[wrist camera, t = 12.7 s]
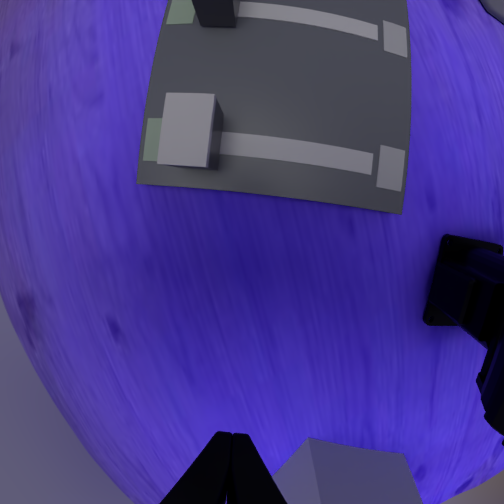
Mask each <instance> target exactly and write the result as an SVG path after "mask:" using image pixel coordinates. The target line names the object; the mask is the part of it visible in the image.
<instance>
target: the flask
mask: <svg viewBox="0 0 504 504" xmlns="http://www.w3.org/2000/svg"><path fill="white" fill-rule="evenodd" d="M480 1H481V2H482V4H483V6H484V7H485V9H486V10H487V12H489V13H490V14H491V15H493V16H494V17H496V18H497V19H498V20H500V21H501V22H502V23H503V24H504V0H480Z"/></svg>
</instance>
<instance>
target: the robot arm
mask: <svg viewBox="0 0 504 504" xmlns="http://www.w3.org/2000/svg"><path fill="white" fill-rule="evenodd" d="M448 240H450V242H449V244H448V245H447V242H448ZM497 251H498V253H497ZM429 317H431V319H430V320H428V319H429ZM423 321H424V323H426V324H427V325H429V326H459V327H461V328H462V329H463V330H464V331H466V332H467V333H468V334H469V335H471V336H472V337H473V338H474V339H475V340H477V341H478V342H479V343H480V344H481V345H483V346H484V347H485V348H486V349H487V350H488V351H487V354H486V357H485V360H484V363H483V366H482V369H481V371H480V372H479V373H478V376H477V379H476V383H477V385H478V388H479V390H480V393H481V401H482V404H483V407H484V410H485V411H486V412H485V414H484V418H485V420H486V421H487V422H488V423H489V424H490V426H491V427H492V428H493V429H495V430H496V431H497V432H498V433H500V434H501V435H503V436H504V256H503V247H502V246H501V245H499V244H495V243H490V242H485V241H480V240H475V239H470V238H465V237H460V236H455V235H449V234H446V235H445V236H444V237H443V238H442V241H441V246H440V251H439V256H438V261H437V265H436V268H435V273H434V277H433V281H432V285H431V289H430V293H429V297H428V302H427V306H426V309H425V313H424V316H423ZM502 445H503V446H504V440H503V441H502ZM226 496H227V504H287V502H286V500H285V499H284V497H283V495H282V494H281V492H280V490H279V488H278V487H277V485H276V483H275V482H274V480H273V478H272V476H271V475H270V473H269V471H268V469H267V467H266V466H265V464H264V462H263V460H262V458H261V457H260V455H259V453H258V451H257V449H256V447H255V446H254V444H253V442H252V440H251V438H250V436H249V435H248V434H243V433H234V434H233V436H232V433H230V432H222V431H218V432H216V433H215V434H214V436H213V437H212V438H211V440H210V441H209V442H208V444H207V445H206V446H205V448H204V449H203V450H202V452H201V453H200V454H199V455H198V457H197V458H196V459H195V461H194V462H193V463H192V464H191V466H190V467H189V468H188V469H187V471H186V472H185V473H184V474H183V476H182V477H181V478H180V479H179V481H178V482H177V483H176V484H175V486H174V487H173V488H172V489H171V490H170V492H169V493H168V494H167V495H166V496H165V498H164V499H163V500H162V501H161V502H160V503H159V504H225V503H226Z"/></svg>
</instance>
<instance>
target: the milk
mask: <svg viewBox="0 0 504 504" xmlns="http://www.w3.org/2000/svg"><path fill="white" fill-rule="evenodd" d="M272 478H273V480H274V482H275V483H276V485H277V487H278V488H279V490H280V492H281V494H282V495H283V497H284V499H285V500H286V502H287V504H423V502H422V500H421V497H420V494H419V492H418V489H417V487H416V484H415V481H414V479H413V476H412V474H411V471H410V469H409V466H408V463H407V461H406V459H405V456H404V454H402V453H393V452H385V451H377V450H370V449H364V448H358V447H352V446H346V445H341V444H336V443H331V442H326V441H321V440H317V439H312V438H307V439H306V440H305V441H304V443H303V444H302V445H301V446H300V447H299V448H298V449H297V450H296V452H295V453H294V454H293V455H292V456H291V457H290V458H289V459H288V460H287V461H286V462H285V463H284V465H283V466H282V467H281V468H280V469H279V470H278V471H277V472H276V473H275V474H274V475H273V476H272Z"/></svg>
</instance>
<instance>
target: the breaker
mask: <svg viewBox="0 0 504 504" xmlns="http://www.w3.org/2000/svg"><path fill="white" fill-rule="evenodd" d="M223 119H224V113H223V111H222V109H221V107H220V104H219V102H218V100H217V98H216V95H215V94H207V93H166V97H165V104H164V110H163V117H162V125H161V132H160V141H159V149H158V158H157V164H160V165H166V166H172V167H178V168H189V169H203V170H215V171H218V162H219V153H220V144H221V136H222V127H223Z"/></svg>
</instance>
